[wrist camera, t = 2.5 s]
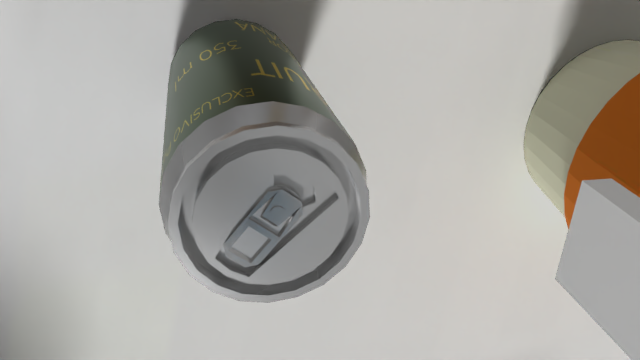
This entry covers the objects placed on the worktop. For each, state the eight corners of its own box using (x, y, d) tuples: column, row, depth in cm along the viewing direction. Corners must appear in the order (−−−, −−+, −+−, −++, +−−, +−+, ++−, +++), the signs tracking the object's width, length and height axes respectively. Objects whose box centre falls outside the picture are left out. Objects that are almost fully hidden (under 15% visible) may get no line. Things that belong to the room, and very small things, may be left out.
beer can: (245, 159, 26) (288, 339, 15) (142, 92, 23) (110, 249, 13) (320, 68, 25) (421, 195, 14) (220, -13, 22) (253, 67, 12)
